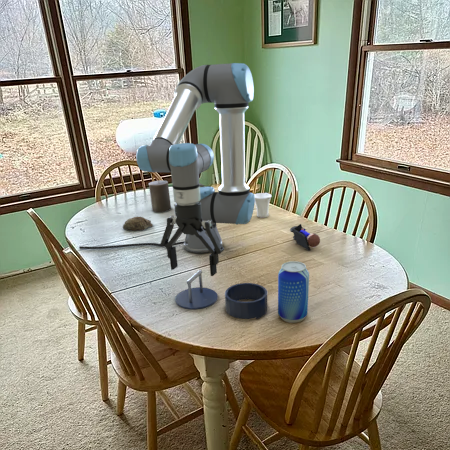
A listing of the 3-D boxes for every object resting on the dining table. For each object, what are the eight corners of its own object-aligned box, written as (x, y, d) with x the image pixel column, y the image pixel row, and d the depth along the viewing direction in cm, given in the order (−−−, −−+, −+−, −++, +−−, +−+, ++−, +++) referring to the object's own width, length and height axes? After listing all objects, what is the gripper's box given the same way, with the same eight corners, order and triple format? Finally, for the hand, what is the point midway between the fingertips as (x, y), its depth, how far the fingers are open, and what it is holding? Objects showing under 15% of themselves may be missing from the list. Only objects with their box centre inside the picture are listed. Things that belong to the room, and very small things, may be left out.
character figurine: (301, 238, 181) (321, 251, 169) (286, 240, 179) (304, 253, 166) (303, 220, 178) (323, 232, 165) (287, 222, 175) (307, 234, 163)
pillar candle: (169, 212, 221) (166, 182, 214) (150, 212, 222) (146, 183, 214) (172, 206, 230) (169, 177, 223) (153, 207, 230) (149, 178, 223)
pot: (218, 316, 130) (217, 298, 127) (236, 297, 140) (235, 280, 137) (258, 323, 125) (258, 305, 122) (273, 303, 135) (273, 286, 132)
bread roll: (119, 230, 201) (117, 219, 199) (133, 221, 211) (132, 211, 209) (144, 232, 197) (142, 221, 194) (157, 223, 207) (156, 213, 204)
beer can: (274, 321, 126) (274, 270, 118) (282, 307, 133) (282, 258, 125) (303, 326, 123) (305, 274, 115) (310, 311, 130) (312, 261, 122)
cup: (275, 214, 210) (275, 193, 205) (266, 219, 203) (265, 198, 198) (258, 211, 214) (258, 191, 209) (249, 217, 208) (248, 196, 203)
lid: (167, 306, 136) (164, 281, 132) (188, 287, 147) (186, 263, 143) (205, 314, 131) (203, 288, 127) (224, 294, 142) (223, 269, 137)
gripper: (142, 202, 126) (152, 270, 136) (221, 209, 116) (225, 282, 126) (157, 195, 132) (165, 261, 142) (233, 201, 122) (236, 271, 132)
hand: (193, 271), depth 134 cm, fingers open, 13 cm apart
